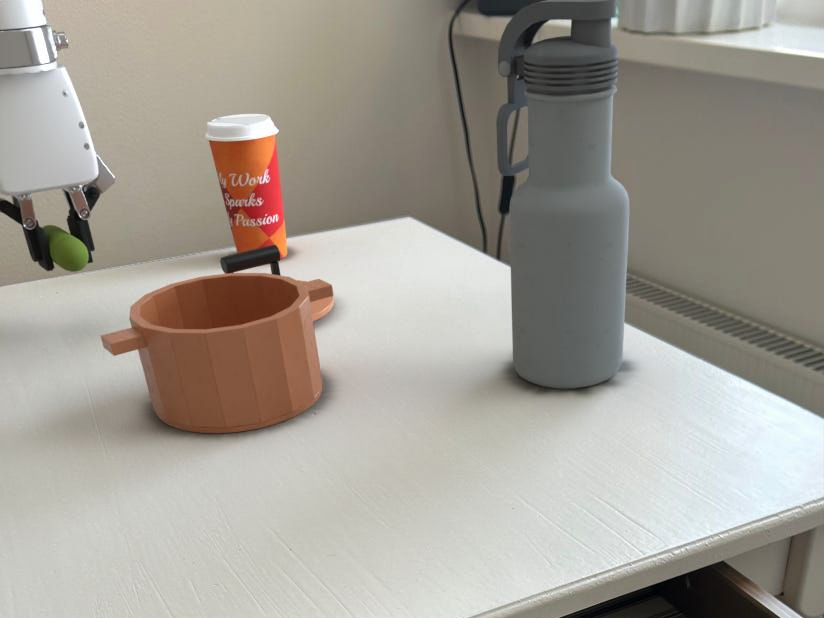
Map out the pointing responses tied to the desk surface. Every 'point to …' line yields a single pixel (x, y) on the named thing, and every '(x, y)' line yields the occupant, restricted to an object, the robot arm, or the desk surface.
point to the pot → (227, 350)
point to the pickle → (66, 249)
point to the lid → (271, 257)
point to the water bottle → (565, 196)
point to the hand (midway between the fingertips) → (65, 262)
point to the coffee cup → (249, 179)
